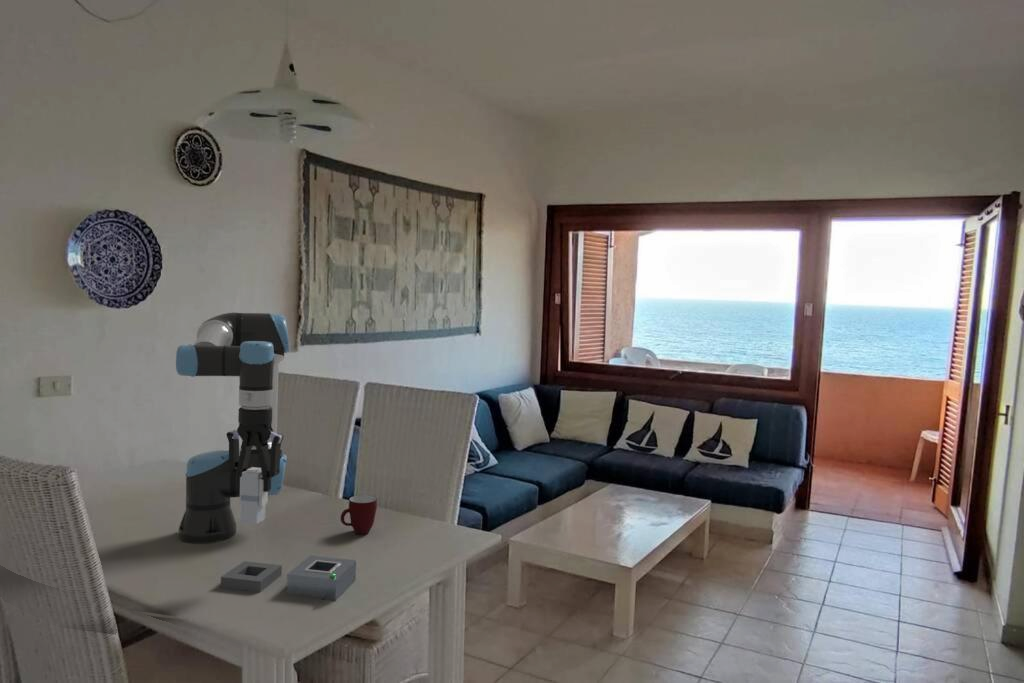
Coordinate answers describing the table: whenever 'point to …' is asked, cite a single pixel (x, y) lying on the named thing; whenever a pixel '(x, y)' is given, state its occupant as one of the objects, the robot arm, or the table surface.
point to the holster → (251, 576)
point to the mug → (361, 513)
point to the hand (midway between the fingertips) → (253, 503)
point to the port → (322, 577)
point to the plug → (251, 497)
